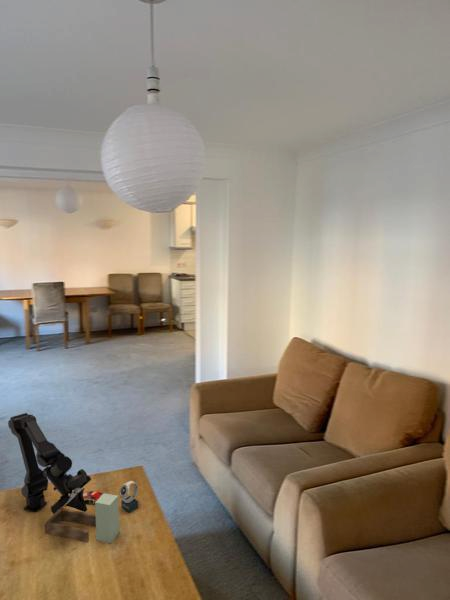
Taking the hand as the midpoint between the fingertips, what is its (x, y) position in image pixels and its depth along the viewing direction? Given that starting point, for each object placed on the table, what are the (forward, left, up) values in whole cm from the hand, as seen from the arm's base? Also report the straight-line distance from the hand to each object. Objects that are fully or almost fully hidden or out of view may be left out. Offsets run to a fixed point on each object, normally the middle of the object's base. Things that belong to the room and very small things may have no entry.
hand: (86, 511), depth 161 cm
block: (+9, 0, -8) cm, 12 cm away
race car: (-7, +18, -9) cm, 21 cm away
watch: (+8, +18, -9) cm, 21 cm away
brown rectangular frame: (-6, 0, -8) cm, 10 cm away
